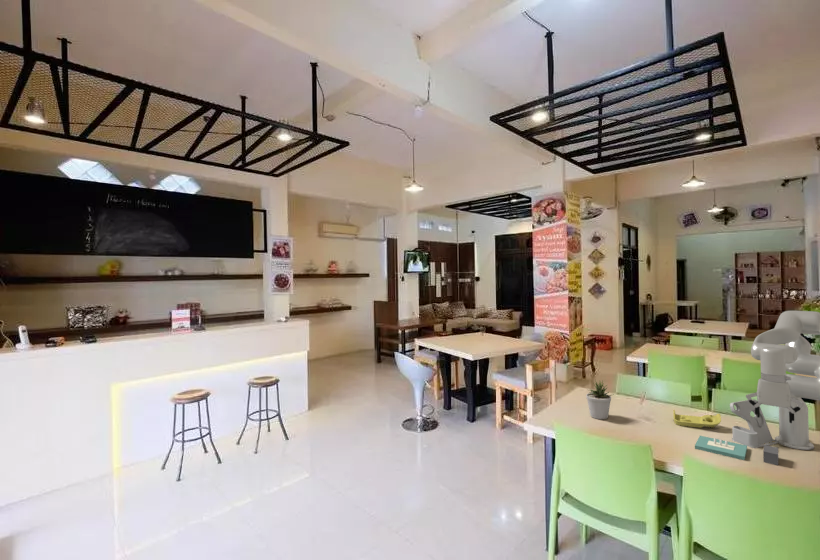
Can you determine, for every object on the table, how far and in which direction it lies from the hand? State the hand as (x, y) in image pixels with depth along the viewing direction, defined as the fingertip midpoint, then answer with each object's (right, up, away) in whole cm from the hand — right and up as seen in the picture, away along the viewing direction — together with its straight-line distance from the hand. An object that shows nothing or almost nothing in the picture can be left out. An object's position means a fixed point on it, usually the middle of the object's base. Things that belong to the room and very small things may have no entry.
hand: (774, 419), depth 159 cm
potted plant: (-43, -20, +58) cm, 74 cm away
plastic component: (-1, -19, +42) cm, 46 cm away
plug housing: (+2, -18, +4) cm, 19 cm away
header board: (-10, -19, +15) cm, 26 cm away
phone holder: (+11, -18, +22) cm, 30 cm away
